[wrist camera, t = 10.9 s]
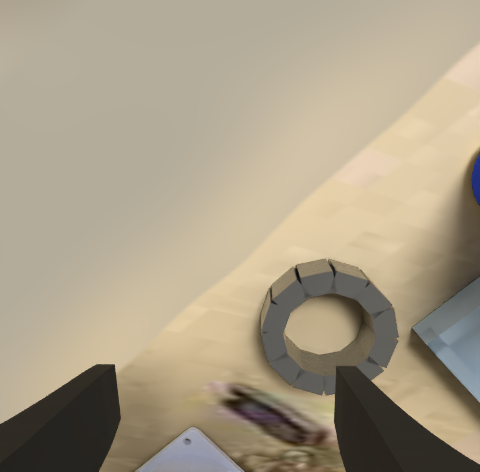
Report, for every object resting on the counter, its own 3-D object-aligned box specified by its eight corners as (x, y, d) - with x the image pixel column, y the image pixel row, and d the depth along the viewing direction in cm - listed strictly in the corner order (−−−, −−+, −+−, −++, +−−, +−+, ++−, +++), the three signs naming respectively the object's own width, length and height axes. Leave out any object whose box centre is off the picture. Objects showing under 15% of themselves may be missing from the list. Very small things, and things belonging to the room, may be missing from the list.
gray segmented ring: (316, 392, 24) (321, 416, 21) (237, 313, 23) (235, 331, 20) (409, 321, 22) (424, 340, 20) (329, 235, 21) (337, 245, 19)
